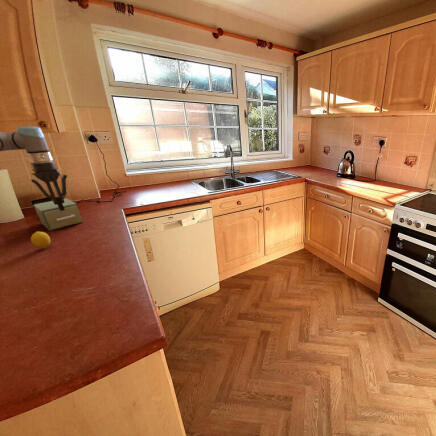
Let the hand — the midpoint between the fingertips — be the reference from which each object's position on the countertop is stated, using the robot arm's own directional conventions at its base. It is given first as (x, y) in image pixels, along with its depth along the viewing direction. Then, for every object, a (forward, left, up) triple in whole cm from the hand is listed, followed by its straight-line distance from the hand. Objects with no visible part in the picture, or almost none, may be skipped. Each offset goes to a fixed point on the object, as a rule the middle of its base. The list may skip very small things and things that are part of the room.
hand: (62, 209), depth 121 cm
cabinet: (-9, +9, -10) cm, 16 cm away
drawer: (-5, +5, -9) cm, 11 cm away
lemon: (+5, -23, -10) cm, 26 cm away
